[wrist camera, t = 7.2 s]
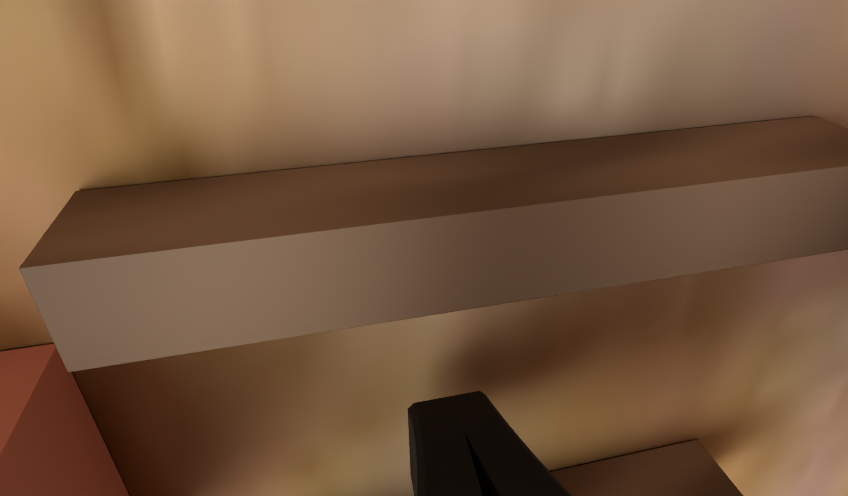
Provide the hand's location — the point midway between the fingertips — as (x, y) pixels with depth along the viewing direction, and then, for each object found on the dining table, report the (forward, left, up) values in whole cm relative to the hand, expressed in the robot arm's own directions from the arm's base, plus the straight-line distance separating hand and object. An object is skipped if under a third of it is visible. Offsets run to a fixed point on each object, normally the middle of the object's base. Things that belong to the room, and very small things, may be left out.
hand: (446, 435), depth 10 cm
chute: (-1, +2, -1) cm, 2 cm away
